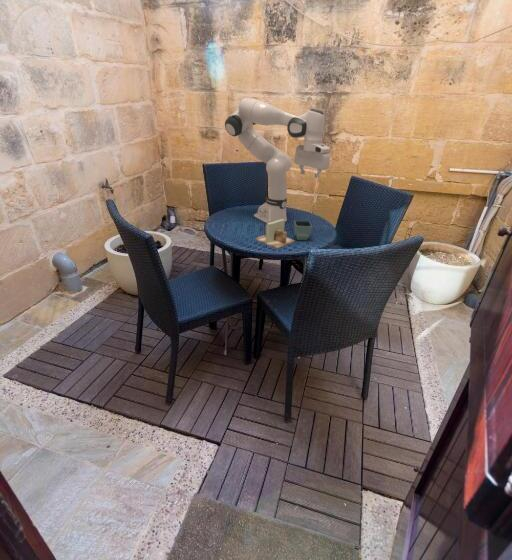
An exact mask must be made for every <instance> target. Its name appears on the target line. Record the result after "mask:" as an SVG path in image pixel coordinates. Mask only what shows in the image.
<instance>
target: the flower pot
mask: <svg viewBox="0 0 512 560" xmlns="http://www.w3.org/2000/svg"><path fill="white" fill-rule="evenodd" d="M312 229H313V225H312V223H311V222H310V221H309V220H294V221H293V230H294V231H293V232H294V235H295V237H296V240H297V241H307V240H308V239H309V237H310V235H311V233H312Z"/></svg>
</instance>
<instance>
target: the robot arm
mask: <svg viewBox="0 0 512 560" xmlns="http://www.w3.org/2000/svg"><path fill="white" fill-rule="evenodd" d="M325 119H326V118H325V113H324V112H323V110H319V109H315V108H310V109H308V110H307V111H306V112H305V113H303V114H299V115H296V114H293V113H290V112H288V111H285V110H282V109H280V108H278V107H275V106H274V105H272V104H270V103H268V102H265V101H263V100H261V99H257V98H254V97H253V98H252V97H244V98H242V99H241V100H240V102H239V105H238V108H236V109H235V110H234V111H233V113H231V114H230V116H228V117H227V119H225V121H224V126H225V127H224V128H225V130H226V132H227V133H228V134H229V135H230V136H232V137H237V138H238V139H237V140H238V141H239V142H240V143H241V144H242V146H243V147H244V148H245V149H246V150H247V151H248V152H249V153H251V154H252V155H253V156H254V157H255V158H256V159H257V160H259V161H261V162H264V163H265V164H266V167H265V170H266V173H267V178H268V179H267V180H268V196H266V197H265V200H266V201H265V202H264V203H263V204H262V205H260V206H258V207H257V208H258V209H257V212H256V213H254V214H253V217H255V218H256V219H258V220H260V221H261V222H264V223H266V224H267V223H270V222H274V221H277V220H280V219H284V220H285V223H286V222H287V221H288V218H287V208H286V207H287V201H288V200H287V194H288V193H287V191H288V184H287V183H288V182H287V178H286V177H287V175H286V174H287V172H289V171H290V170H291V167H292V164H293V162H294V165H299V170H300V175H305V173H306V171H305V169H304V167H309V168H315V169H317V170H316V171H317V172H316V173H315V174H314V178H318V179H319V177H320V174H321V173H322V171H323V170H328V169H329V167H330V162H331V155H330V153H331V147H330V146H328V145H326V144H324V143H323V140H324V139H323V134H324V131H325V124H326V123H325V121H326V120H325ZM255 125H259V126H276V125H278V126H285V127H286V129H287V133H288V135H289V136H290V137H292V138H294V139H300V138H301V139H302V138H303V139H304V141H303V145H302V144H299V145H297V146H296V147H295V153H294V158H293V160H292V157H290V155H289V154H287V153H285V152H283V150H280V149H279V148H278V147H276V146H274V145H273V144H271V142H269V141H268V140H267V139H266V138H264V137H263V136H262V135H261V134H260V133H259V132H257V131H256V129H255V128H254V126H255Z"/></svg>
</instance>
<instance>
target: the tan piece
mask: <svg viewBox="0 0 512 560" xmlns="http://www.w3.org/2000/svg"><path fill="white" fill-rule="evenodd" d="M266 226H267V224H266V225H265V227H264V228H265V229H264V235H260V236H258V237H256V238H255V240H256V241H258V242H260V243H262V244H265V245H267V246H269V247H271V248H274V249H276V250H278V249H280V248H284V247H286V246H288V245H291V244H293V243H295V240H294V239H292V238H291V237H290V238H289V237H287V236H288V232H287V231H285V230H284V231H283V230H280V229H279V230H277V234H276V232H274V241H272V242H269V243H268V242H266Z"/></svg>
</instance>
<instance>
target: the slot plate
mask: <svg viewBox="0 0 512 560" xmlns="http://www.w3.org/2000/svg"><path fill="white" fill-rule="evenodd" d="M266 225H267V226H266ZM266 225H265V226H266V242H268V243H269V242H272V241H274V233H276V234H277V230H279V229H280V230H283V231H285V225H286V222H285V220H284V219H280V220H277V221H274V222H270V223H266Z"/></svg>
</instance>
